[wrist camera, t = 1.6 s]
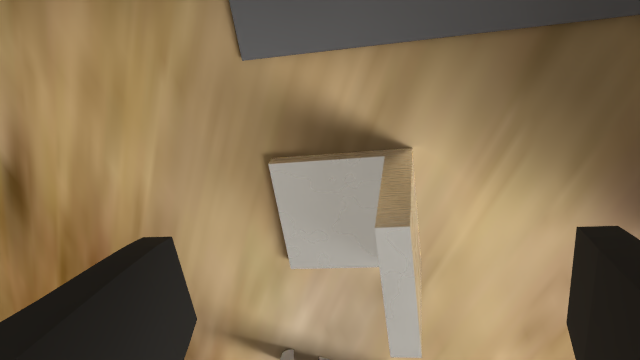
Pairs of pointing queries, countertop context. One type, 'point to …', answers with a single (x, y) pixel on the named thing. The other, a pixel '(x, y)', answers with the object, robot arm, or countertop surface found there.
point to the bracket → (357, 226)
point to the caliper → (288, 355)
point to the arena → (396, 21)
